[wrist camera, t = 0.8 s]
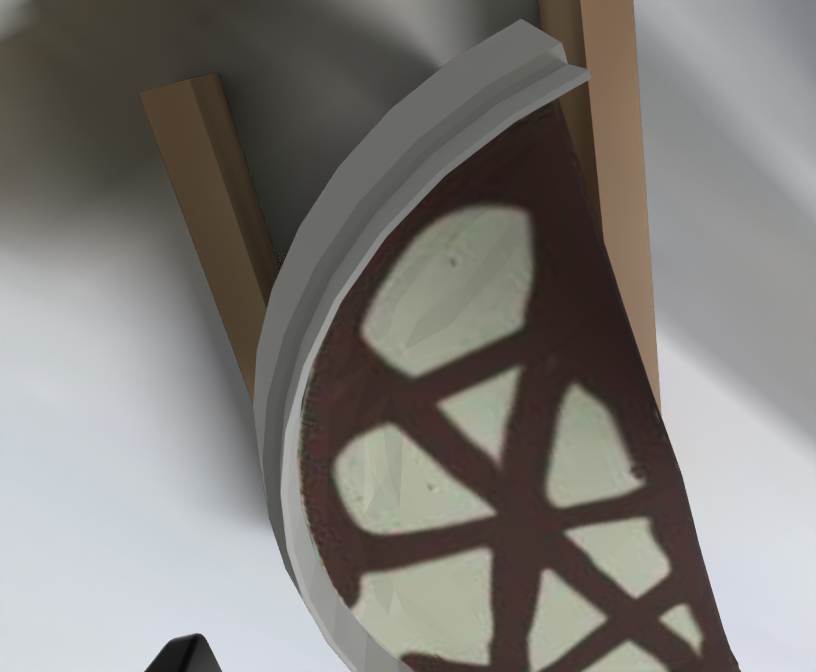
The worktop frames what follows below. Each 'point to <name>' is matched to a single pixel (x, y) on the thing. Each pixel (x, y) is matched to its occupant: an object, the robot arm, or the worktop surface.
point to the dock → (589, 129)
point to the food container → (474, 401)
